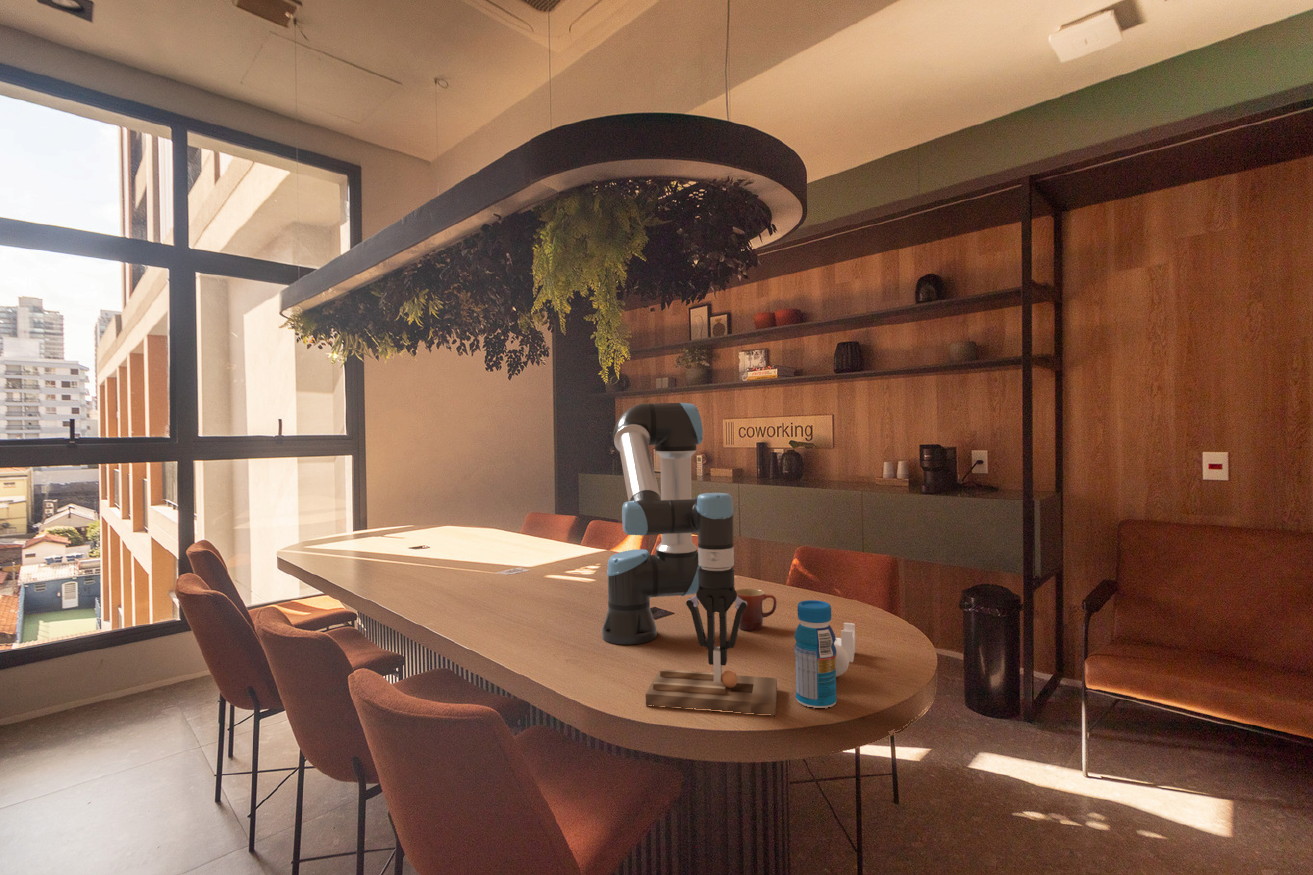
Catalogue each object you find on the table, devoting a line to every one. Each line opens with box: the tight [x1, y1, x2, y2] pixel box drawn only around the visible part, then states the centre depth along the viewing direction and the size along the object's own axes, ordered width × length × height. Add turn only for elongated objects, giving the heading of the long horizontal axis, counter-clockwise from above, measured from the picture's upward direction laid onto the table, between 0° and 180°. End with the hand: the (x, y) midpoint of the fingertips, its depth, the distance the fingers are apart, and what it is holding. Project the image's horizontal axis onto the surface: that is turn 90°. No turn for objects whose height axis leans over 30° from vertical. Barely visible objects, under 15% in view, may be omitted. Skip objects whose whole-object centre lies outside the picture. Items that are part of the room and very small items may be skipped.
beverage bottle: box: [793, 599, 837, 709], centre depth 124 cm, size 8×8×20 cm
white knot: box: [834, 643, 850, 678], centre depth 136 cm, size 11×12×9 cm
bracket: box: [834, 622, 856, 663], centre depth 151 cm, size 13×7×8 cm, turn 67°
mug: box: [735, 588, 778, 632], centre depth 174 cm, size 12×9×10 cm
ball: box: [721, 669, 738, 688], centre depth 126 cm, size 3×3×3 cm
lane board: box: [645, 668, 778, 716], centre depth 127 cm, size 26×13×4 cm, turn 77°
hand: (717, 679), depth 127 cm, fingers closed
